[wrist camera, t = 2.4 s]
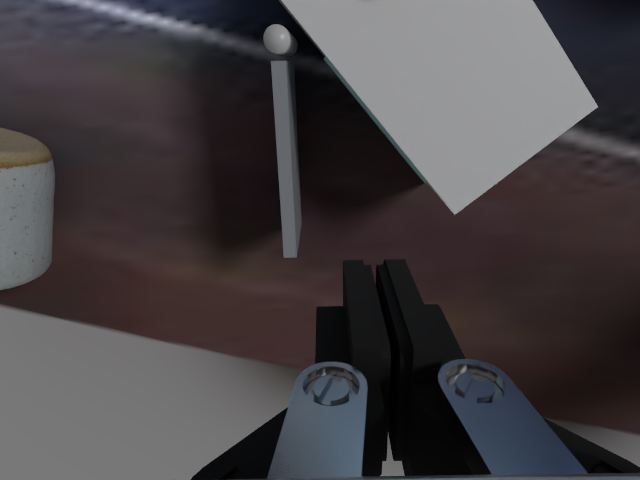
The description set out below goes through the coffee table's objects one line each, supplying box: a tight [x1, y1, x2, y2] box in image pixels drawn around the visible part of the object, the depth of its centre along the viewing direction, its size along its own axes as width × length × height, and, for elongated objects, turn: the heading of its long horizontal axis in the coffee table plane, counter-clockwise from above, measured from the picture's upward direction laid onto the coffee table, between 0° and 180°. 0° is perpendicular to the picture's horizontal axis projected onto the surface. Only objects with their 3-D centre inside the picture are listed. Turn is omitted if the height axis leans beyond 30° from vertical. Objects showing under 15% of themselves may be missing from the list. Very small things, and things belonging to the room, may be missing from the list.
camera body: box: [279, 0, 598, 215], centre depth 21 cm, size 16×8×7 cm, turn 42°
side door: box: [263, 24, 302, 258], centre depth 24 cm, size 12×1×6 cm, turn 2°
